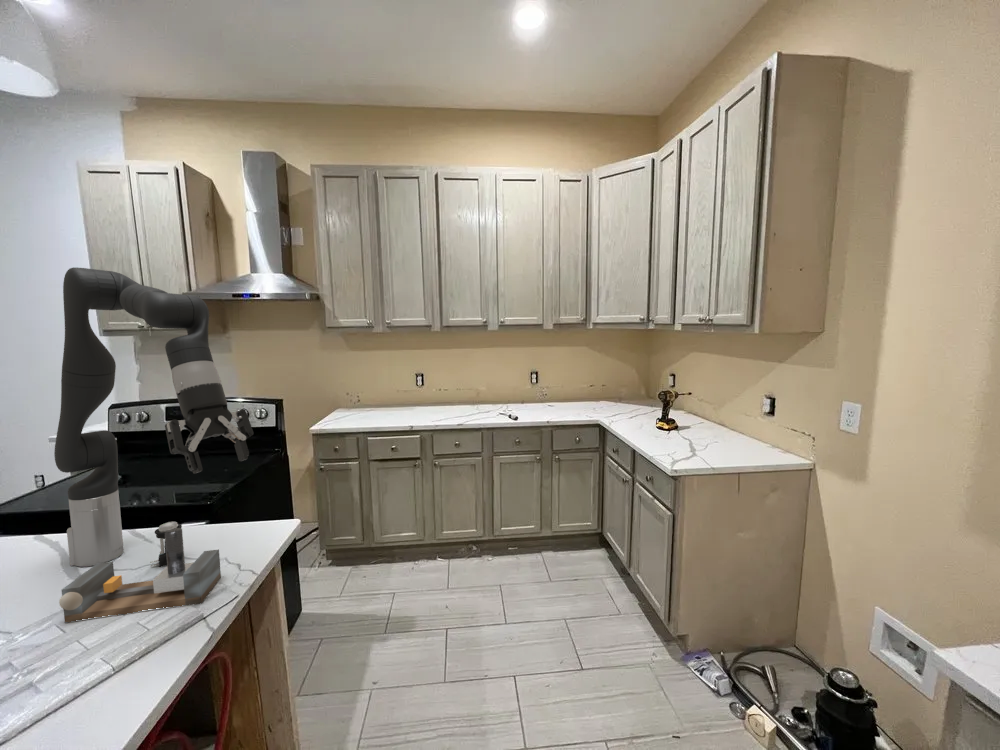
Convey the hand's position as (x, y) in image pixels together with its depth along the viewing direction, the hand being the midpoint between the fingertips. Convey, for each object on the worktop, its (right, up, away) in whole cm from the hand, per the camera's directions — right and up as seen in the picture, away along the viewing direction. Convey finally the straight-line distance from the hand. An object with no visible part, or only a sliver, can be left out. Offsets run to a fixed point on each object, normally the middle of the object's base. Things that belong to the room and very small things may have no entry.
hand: (221, 465), depth 81 cm
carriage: (-17, -28, +11) cm, 35 cm away
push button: (-30, -30, +24) cm, 49 cm away
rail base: (-22, -31, +10) cm, 40 cm away
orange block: (-29, -28, +8) cm, 41 cm away
